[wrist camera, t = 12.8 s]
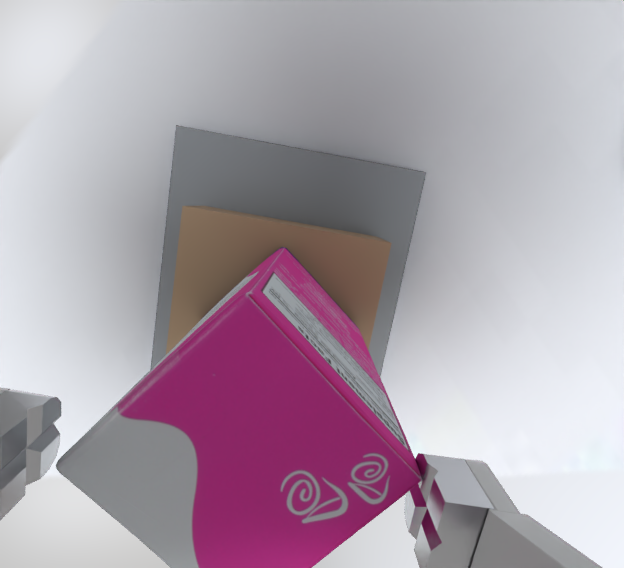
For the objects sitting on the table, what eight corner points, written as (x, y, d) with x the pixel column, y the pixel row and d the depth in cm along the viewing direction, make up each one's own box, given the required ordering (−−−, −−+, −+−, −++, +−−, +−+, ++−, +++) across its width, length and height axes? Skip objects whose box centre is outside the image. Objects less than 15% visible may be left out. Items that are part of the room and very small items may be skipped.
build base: (182, 128, 22) (147, 107, 18) (420, 173, 23) (452, 165, 18) (150, 414, 26) (115, 464, 21) (360, 446, 27) (372, 500, 22)
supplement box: (279, 404, 20) (229, 643, 9) (197, 320, 19) (32, 460, 8) (365, 331, 19) (432, 488, 8) (284, 241, 19) (234, 276, 7)
